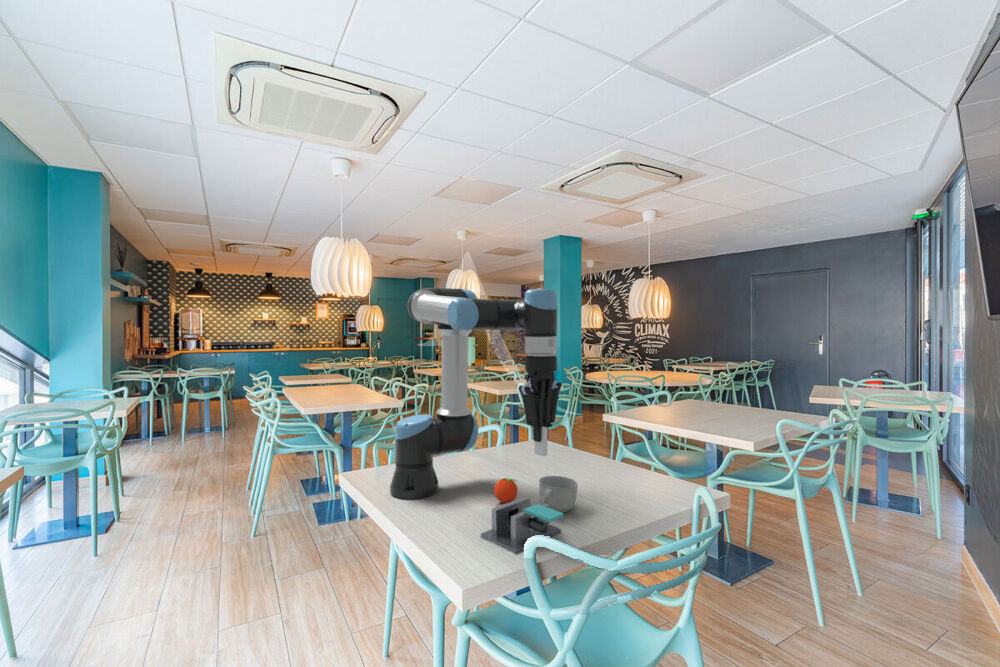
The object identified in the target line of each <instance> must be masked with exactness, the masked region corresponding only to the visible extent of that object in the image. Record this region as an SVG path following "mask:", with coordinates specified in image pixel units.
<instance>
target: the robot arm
mask: <svg viewBox="0 0 1000 667" xmlns="http://www.w3.org/2000/svg"><path fill="white" fill-rule="evenodd" d="M557 301H558V300H557V292H556V291H555V290H554V289H550V288H536V289H534V288H532V289H527V290H526V291H525V293H524V299H518V300H517V299H516V300H515V299H514V300H513V299H510V300H509V299H488V298H487V299H486V298H478V297H477V295H476V293H475V292H474V291H472V290H469V289H463V288H445V287H440V288H439V287H424V288H420V289H418V290H417V291H414V292H413V293H412V294H411V295H410V296H409V298H408V300H407V303H406V304H407V311H408V314H409V316H410V317H411V318H412V319H413V320H415V321H416V322H419V323H422V324H428V325H437V331H438V332H439V333H440V334H441V339H442V340H441V388H440V389H441V394H440V395H441V397H440V398H441V400H440V401H441V403H440V404H441V406H440V408H438V409H437V410H436V418H433V416H432V415H430V414H417V415H412V416H407V417H404V418H402V419H400V420H398V421H397V423H396V424H395V434H394V439H395V442H394V443H395V469H394V472H393V476H392V479H391V483H390V486H389V488H390V489H389V493H391V494H390V495H391V496H392V495H393V497H394V496H395V498H397V497H398V499H403V498H404V499H406V500H407V499H408V500H415V499H421V498H422V499H423V498H427V497H430V496H433V495H434V494H437V492H439V490H440V489H439V486H440V485H439V480H438V477H437V473H436V471H435V468H434V460H433V459H434V456H439V455H444V454H445V455H446V454H453V453H461V452H465V451H469V450H471V449H472V448H474V446H475V445H476V442H477V440H478V437H479V436H478V435H479V425H478V419H476V416H475V415H472V414H473V413H472V410H471V409H470V408H469V407H468V381H469V380H468V376H469V374H468V371H469V369H468V368H469V367H468V366H469V335H470V334H471V333H472V332H473V331H477V330H478V331H483V330H485V331H486V330H489V331H490V330H491V331H493V330H495V331H499V330H500V331H524V353H525V354H526V355H525V357H524V371H526V372H527V377H526V382H525V383H524V384H523V385H520V386H519V387H518V391H519V392H520V395H521V400H522V402H523V404H522V405H523V409H524V416H525V421H526V424H527V426H530V427H532V428H533V441H534V454H535V455H537V456H541V457H545V456H546V457H547V456H548V441H549V440H548V439H549V428H552V427H553V424H554V423H555V421H556V416H557V411H558V410H557V408H558V402H559V395H560V391H561V388H562V385H563V384H562V382H558V381H557V380H556V377H555V373H554V372H557V369H558V357H557V356H556V355H555V354H557V352H558V351H557V350H558V348H557V345H558V344H557V343H558V342H557V332H558V303H557Z"/></svg>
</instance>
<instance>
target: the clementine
mask: <svg viewBox="0 0 1000 667" xmlns="http://www.w3.org/2000/svg"><path fill="white" fill-rule="evenodd" d="M515 482H516V483H515ZM517 483H518V481H517V480H516V479H513V478H505V477H504V478H501V479H500V480H498V481H497V482H496V483H495V485H494V488H493V491H494V492H493V493H494V496H495V498H496V500H497V501H499V502H500V503H503V504H507V503H510V502H512V501H515V500H516V498H517V495H518V486H517Z"/></svg>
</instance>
